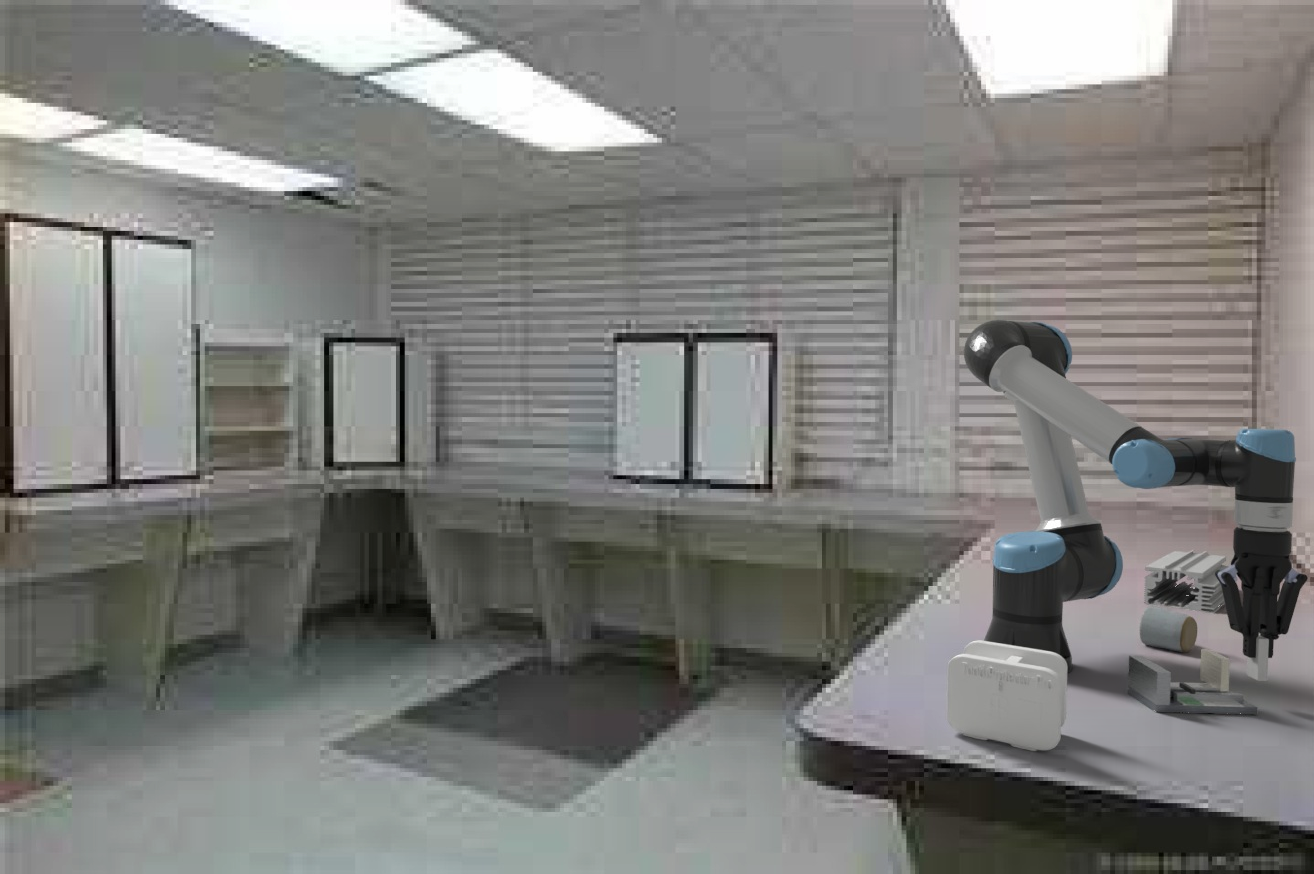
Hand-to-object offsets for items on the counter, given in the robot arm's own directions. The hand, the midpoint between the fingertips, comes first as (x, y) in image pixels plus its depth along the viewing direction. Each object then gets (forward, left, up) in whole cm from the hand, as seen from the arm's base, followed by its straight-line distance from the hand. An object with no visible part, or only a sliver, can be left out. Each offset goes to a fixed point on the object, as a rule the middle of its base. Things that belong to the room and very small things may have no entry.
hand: (1256, 677), depth 140 cm
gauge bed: (-10, 0, -4) cm, 11 cm away
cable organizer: (-44, -15, -5) cm, 46 cm away
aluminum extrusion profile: (+33, +80, -5) cm, 87 cm away
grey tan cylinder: (+4, +34, -5) cm, 34 cm away
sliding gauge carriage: (-10, -1, -3) cm, 10 cm away
